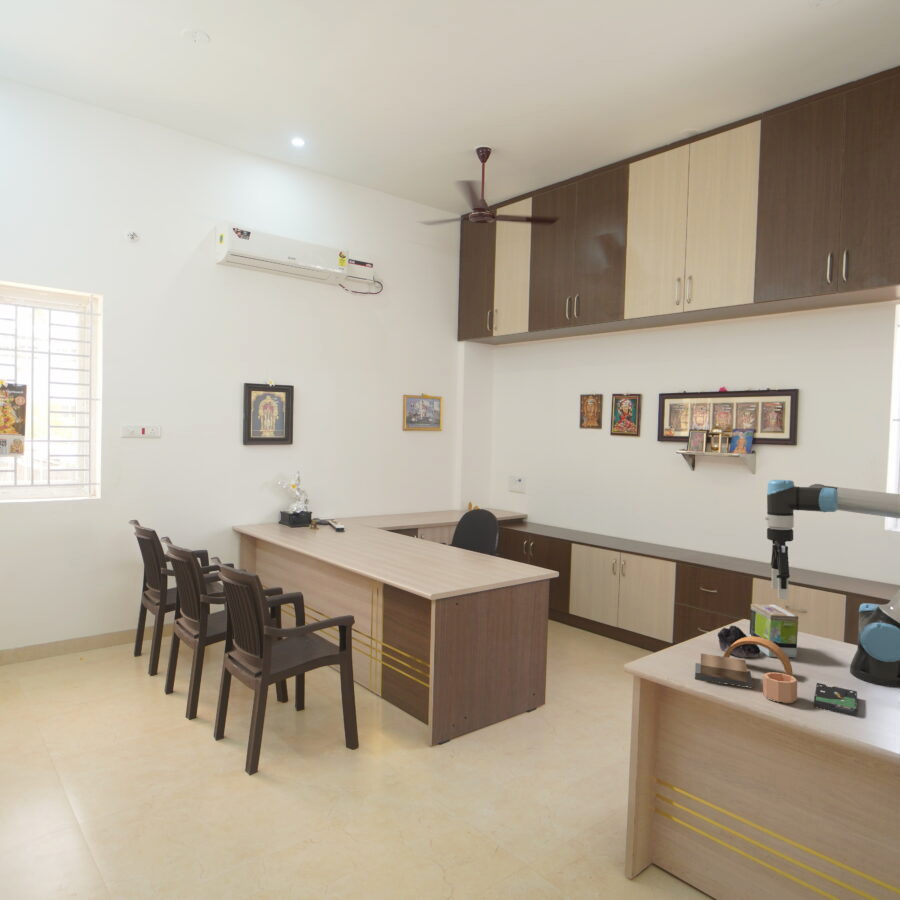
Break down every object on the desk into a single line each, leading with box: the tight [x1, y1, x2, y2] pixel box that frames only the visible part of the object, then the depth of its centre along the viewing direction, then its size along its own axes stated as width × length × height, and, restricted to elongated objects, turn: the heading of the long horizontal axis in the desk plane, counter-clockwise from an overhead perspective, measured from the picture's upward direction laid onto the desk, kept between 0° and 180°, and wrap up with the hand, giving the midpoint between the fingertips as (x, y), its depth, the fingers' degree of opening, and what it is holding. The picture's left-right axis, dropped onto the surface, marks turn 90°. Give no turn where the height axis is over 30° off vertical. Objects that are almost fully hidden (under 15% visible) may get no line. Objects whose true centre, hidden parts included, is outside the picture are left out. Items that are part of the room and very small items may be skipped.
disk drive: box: [813, 682, 858, 718], centre depth 179 cm, size 10×3×15 cm
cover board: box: [700, 653, 748, 682], centre depth 195 cm, size 13×11×3 cm
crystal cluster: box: [717, 625, 761, 658], centre depth 220 cm, size 13×14×10 cm
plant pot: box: [762, 671, 798, 704], centre depth 181 cm, size 8×8×6 cm
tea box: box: [748, 603, 799, 658], centre depth 222 cm, size 15×10×15 cm
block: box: [694, 662, 753, 688], centre depth 195 cm, size 16×9×2 cm, turn 68°
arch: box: [722, 636, 793, 676], centre depth 204 cm, size 6×20×10 cm, turn 52°
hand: (779, 593), depth 202 cm, fingers open, 13 cm apart
